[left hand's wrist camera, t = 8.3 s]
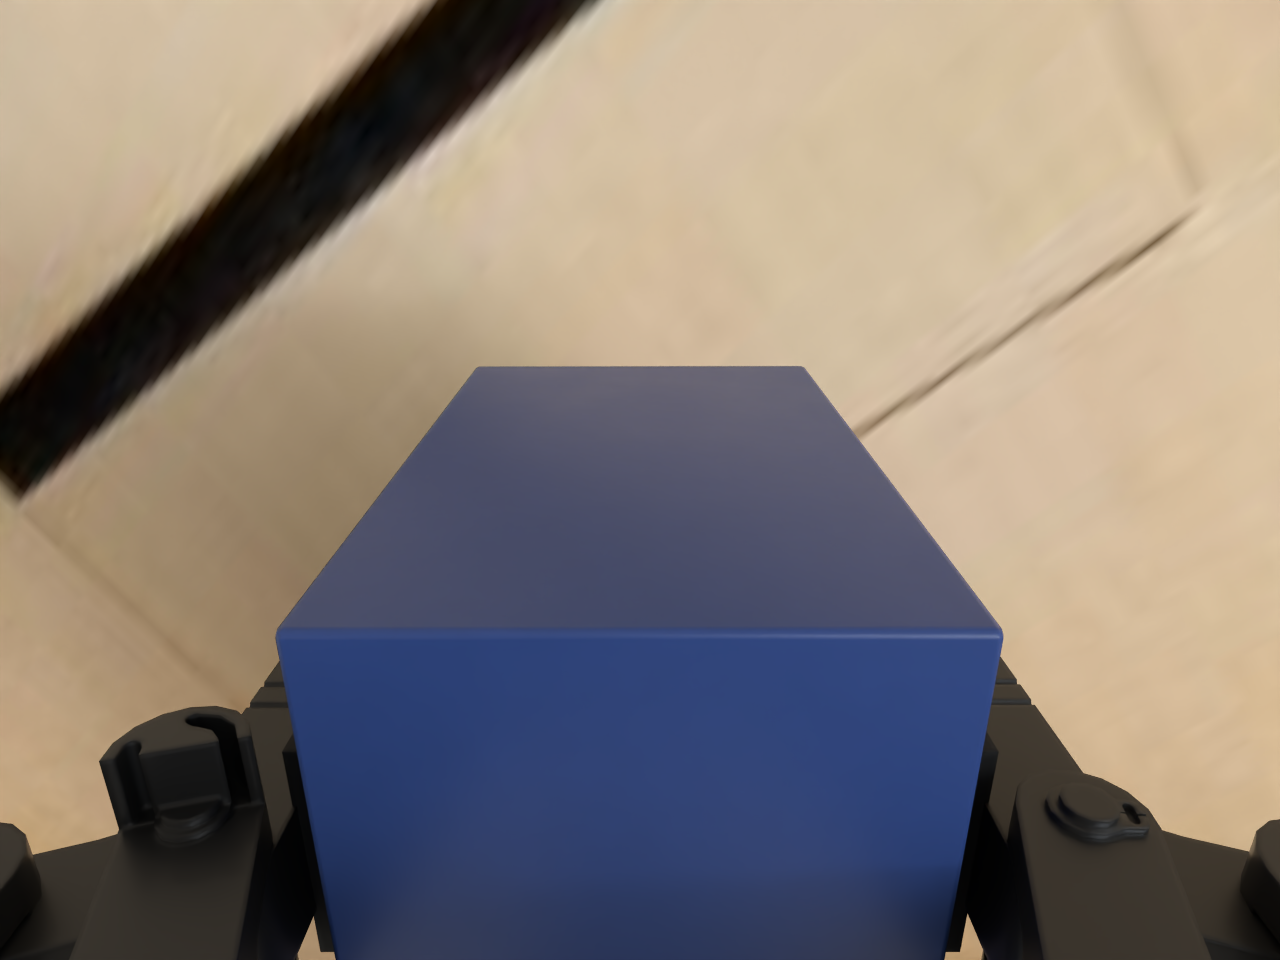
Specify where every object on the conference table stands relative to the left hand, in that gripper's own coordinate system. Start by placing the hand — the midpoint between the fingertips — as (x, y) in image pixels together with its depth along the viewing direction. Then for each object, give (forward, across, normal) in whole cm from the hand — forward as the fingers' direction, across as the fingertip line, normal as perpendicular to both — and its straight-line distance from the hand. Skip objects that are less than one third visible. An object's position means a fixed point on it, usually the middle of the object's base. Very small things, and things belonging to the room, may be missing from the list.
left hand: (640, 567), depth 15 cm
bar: (+1, 0, -9) cm, 9 cm away
